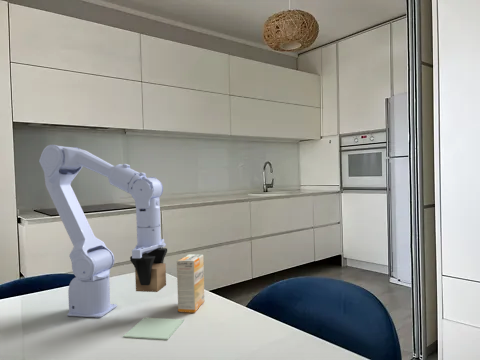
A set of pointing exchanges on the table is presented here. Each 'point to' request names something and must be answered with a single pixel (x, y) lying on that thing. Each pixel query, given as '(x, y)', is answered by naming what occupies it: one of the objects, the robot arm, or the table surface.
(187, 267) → the supplement box
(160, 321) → the sage pad
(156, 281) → the walnut block
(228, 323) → the table surface
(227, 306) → the table surface
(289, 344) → the table surface
